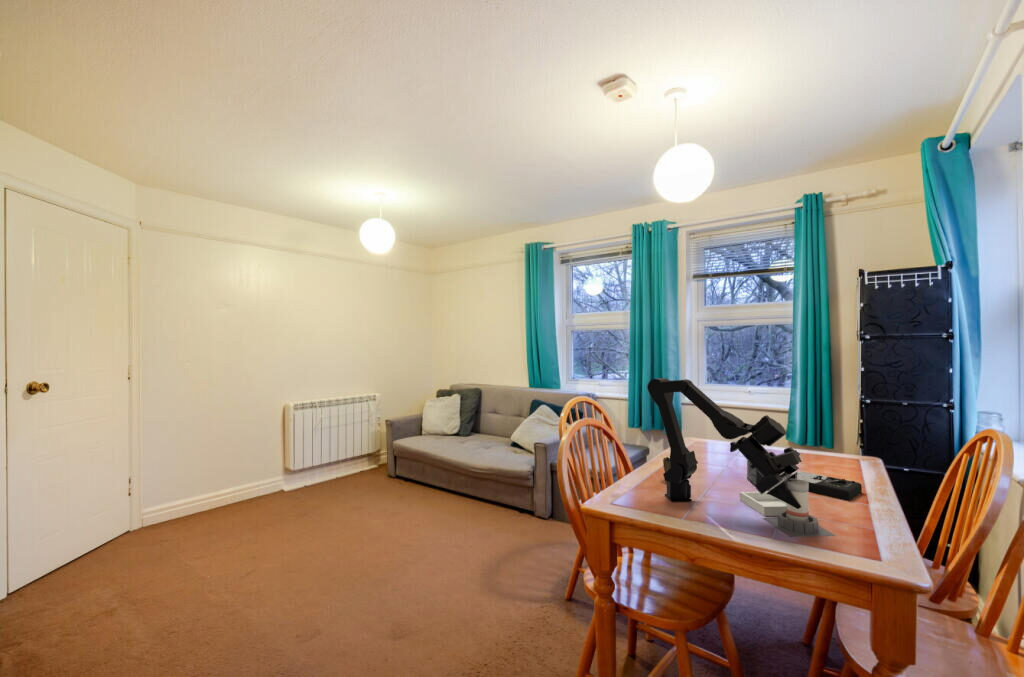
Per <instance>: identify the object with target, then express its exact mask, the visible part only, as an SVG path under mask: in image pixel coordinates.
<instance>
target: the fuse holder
mask: <svg viewBox="0 0 1024 677" xmlns="http://www.w3.org/2000/svg"><path fill="white" fill-rule="evenodd" d="M777 515H778V516H777V517H762V518H761V519H762V520H764V521H765V522H767V523H769V524H771V525H772V526H773V527H775V528H776V529H778V530H780V531H781V532H782V533H784V534H786V535H787V536H788V537H790V538H797V537H799V538H801V537H803V538H807V537H837V535H836V534H834V533H832V532H830V531H829V530H827V529H825V528H823V527H822V526H820V525H819V520H818V518H816V517H815V516H813V515H811V514H809V516H808V518H809V522H797V521H793V520H789V519H787V518H786V511H780V512H778V513H777Z"/></svg>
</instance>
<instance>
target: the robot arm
mask: <svg viewBox="0 0 1024 677" xmlns="http://www.w3.org/2000/svg"><path fill="white" fill-rule="evenodd" d="M646 388H647V391H648V393H649V397H650V398H651V399H652V401H653V402H654V403H655V405H656V406H657V408H658V410H659V414H660V418H661V420H662V425H663V428H664V432H665V435H666V438H667V442H668V445H669V449H670V453H669V460H670V469H669V470H668V471H666V472H665V471H664V473H663V474H662V475H663V478H664V481H665V482H666V493H664V496H665V497H666V498H667V499H668V500H670V502H672V503H686V502H687V503H691V502H693V500H692V498H691V497H692V486H691V484H690V480H689V479H691V478H692V475H693V474H695V473H696V472H697V468H698V464H699V462H698V461H697V458H696V453H695V450H692V451H690V450H689V449H688V447H687V446H686V443H685V441H684V437H683V433H682V430H681V427H680V423H679V420H678V417H677V414H676V409H675V407H674V403H673V402H674V393H681V394H682V395H684V396H685V397H686V399H687V400H689V401H690V402H691V403H692V404H693V405H694V406H696V408H697V409H699V410H700V411H701V412H702V413H703V414H704V415H705V416H706V417H707V418H708V419H709V420H710V421H711V423H712V425H713V427H714V428H715V430H716V431H717V432H718V433H719V435H720V436H721V437H722V438H723V439H726V440H734V439H738V438H739V439H738V440H736V441H731V442H730V443H729V446H730V448H729V451H730V453H734V452H736V451H739V452H740V453H741V455H742V456H743V457H744V458H745V459H746V461H747V460H748V461H749V462H750V463H751V464H752V465H751V466H750V467H751V468H752V469H754V468H755V469H756V470H757V471H758V472H759V473H760V474H761V475H762V476H763V478H761V479H762V480H760V481H759V482H758V483H756V487H755V489H756V491H757V492H760V494H763V493H764V492H767V494H769V495H771V496H773V497H775V498H778V499H780V500H782V501H784V502H785V503H787V504H789V505H791V506H793V507H795V508H797V509H799V508H801V505H800V504H799V502H798V501H797V499H796V498H795V497H794V495H793V494H792V493H791V491H790V490H789V489H788V487H787V479H797V474H798V472H797V471H799V469H800V468H799V466H797V465H799V464H800V463H802V459H801V457H800V456H801V453H800V452H798V450H797V449H794V448H792V446H790V447H787V448H786V447H785V448H784V449H783V453H780V454H775V453H774V452H773V451H770V452H769V451H768V450H767V449H766V448H764V446H767V447H771V446H772V445H773V444H775V443H777V442H778V441H779V440H780V439H782V438H783V437H784V436H786V435H787V431H786V429H785V427H784V426H783V425H782V424H781V423H780V422H778V421H776V420H775V419H774V418H771V417H770V416H769V415H767V414H765V415H764V416H762V417H761V418H760V420H759V421H757V422H756V423H755V424H751V423H750V424H749V423H747V422H744V421H743V420H742V419H741V418H739V417H737V416H736V415H734V414H733V413H730V412H729V411H726V410H724V409H723V408H721V406H719V405H717V404H716V403H715V402H714V401H713V400H712V399H711V398H710V397H709V396H708V395H707V394H705V393H704V391H702V390H701V389H699V388H698V386H696V385H695V384H694V383H693V382H692V381H691V380H690V379H687V378H686V379H679V380H674V379H673V380H671V379H669V378H666V377H662V378H661V377H658V378H652V379H650V381H649V382H648V384H647V386H646ZM748 434H750V435H749V436H748V437H746V435H748ZM795 472H796V473H795ZM793 473H795V474H793Z"/></svg>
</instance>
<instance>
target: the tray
mask: <svg viewBox="0 0 1024 677" xmlns="http://www.w3.org/2000/svg"><path fill="white" fill-rule="evenodd" d="M767 492H768V491H766V492H764V493H763V494H760V492H759V491H739V501H740V502H741V503H743V504H745V505H747V506H748V507H750V508H751V509H753V510H754V511H756V512H757V513H759V514H760V515H762V516H764V517H767V516H768V517H769V516H772V517H773V516H775V517H778V515H777V513H778V512H780V511H786V503H785V502H784V501H782V500H780V499H778V498H775V497H773V496H771V495H769V494H767Z"/></svg>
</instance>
